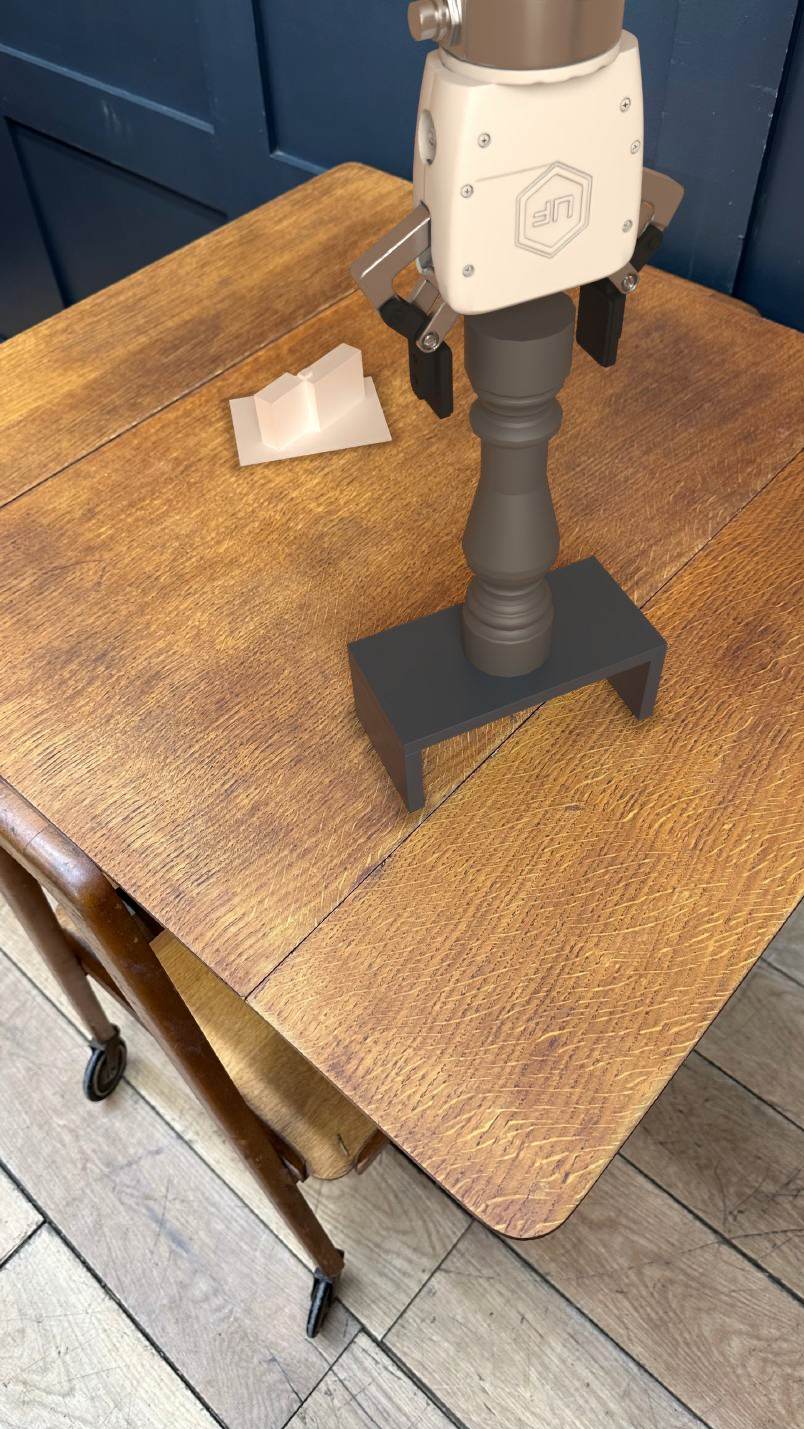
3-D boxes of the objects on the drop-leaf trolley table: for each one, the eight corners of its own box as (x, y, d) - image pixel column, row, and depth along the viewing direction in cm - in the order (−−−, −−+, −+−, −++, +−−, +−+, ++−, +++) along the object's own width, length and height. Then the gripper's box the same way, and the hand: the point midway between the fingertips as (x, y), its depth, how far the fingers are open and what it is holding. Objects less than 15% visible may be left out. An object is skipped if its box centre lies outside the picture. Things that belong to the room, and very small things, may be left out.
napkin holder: (370, 375, 107) (366, 324, 102) (393, 440, 100) (390, 388, 95) (227, 400, 105) (216, 349, 101) (240, 467, 98) (229, 416, 94)
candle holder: (567, 660, 70) (604, 325, 51) (484, 688, 69) (489, 356, 50) (527, 601, 74) (547, 267, 55) (448, 627, 73) (439, 296, 53)
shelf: (584, 628, 83) (594, 554, 77) (652, 715, 77) (668, 643, 71) (356, 714, 79) (346, 643, 72) (409, 813, 73) (403, 745, 67)
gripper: (370, 87, 38) (397, 465, 51) (764, -5, 42) (693, 370, 55) (300, 24, 42) (341, 387, 56) (662, -54, 46) (619, 304, 59)
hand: (516, 378), depth 55 cm, fingers open, 9 cm apart
